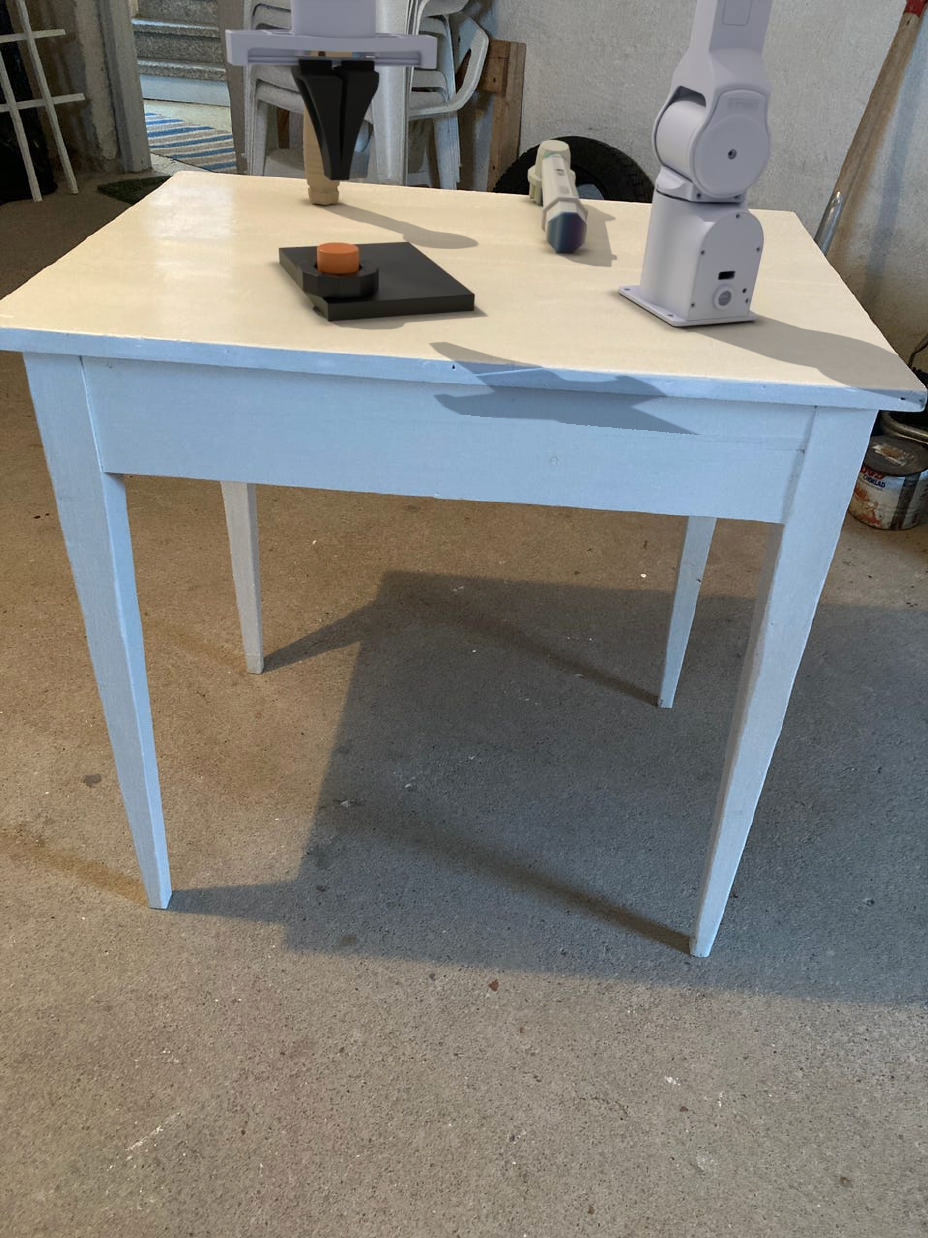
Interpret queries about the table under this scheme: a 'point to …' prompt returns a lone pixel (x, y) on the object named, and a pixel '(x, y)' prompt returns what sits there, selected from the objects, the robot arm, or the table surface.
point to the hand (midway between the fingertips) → (336, 177)
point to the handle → (318, 154)
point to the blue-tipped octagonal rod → (558, 197)
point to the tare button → (338, 258)
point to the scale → (378, 283)
